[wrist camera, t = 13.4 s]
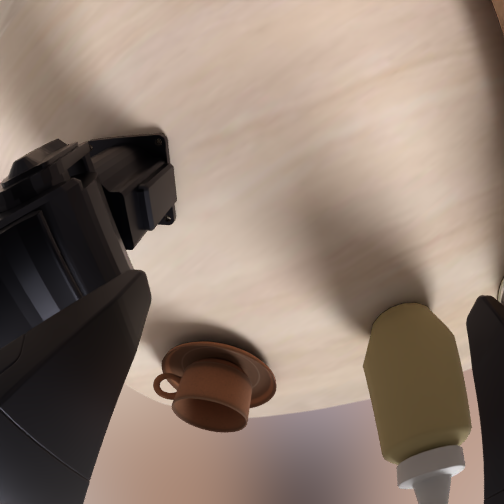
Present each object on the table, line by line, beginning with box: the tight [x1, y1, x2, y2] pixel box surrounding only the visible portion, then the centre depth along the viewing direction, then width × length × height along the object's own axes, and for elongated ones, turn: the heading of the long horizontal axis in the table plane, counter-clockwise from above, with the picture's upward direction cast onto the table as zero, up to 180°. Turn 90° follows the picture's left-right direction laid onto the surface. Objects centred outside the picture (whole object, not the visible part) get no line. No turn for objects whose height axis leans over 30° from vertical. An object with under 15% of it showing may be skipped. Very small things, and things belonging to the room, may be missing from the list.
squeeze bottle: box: [363, 303, 472, 504], centre depth 17 cm, size 8×8×18 cm
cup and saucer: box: [153, 341, 276, 432], centre depth 29 cm, size 12×12×6 cm
